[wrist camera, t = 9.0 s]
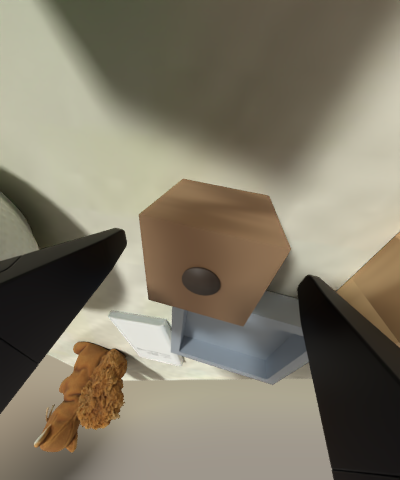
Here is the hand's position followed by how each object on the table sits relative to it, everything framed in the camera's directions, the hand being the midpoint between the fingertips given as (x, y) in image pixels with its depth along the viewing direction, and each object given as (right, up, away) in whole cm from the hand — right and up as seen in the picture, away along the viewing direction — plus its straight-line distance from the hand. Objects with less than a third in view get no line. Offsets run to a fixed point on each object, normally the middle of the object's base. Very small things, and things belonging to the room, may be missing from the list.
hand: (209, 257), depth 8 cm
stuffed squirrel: (-19, -23, +26) cm, 40 cm away
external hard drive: (-8, -14, +17) cm, 23 cm away
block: (+1, +2, +3) cm, 4 cm away
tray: (+3, -8, +9) cm, 12 cm away
